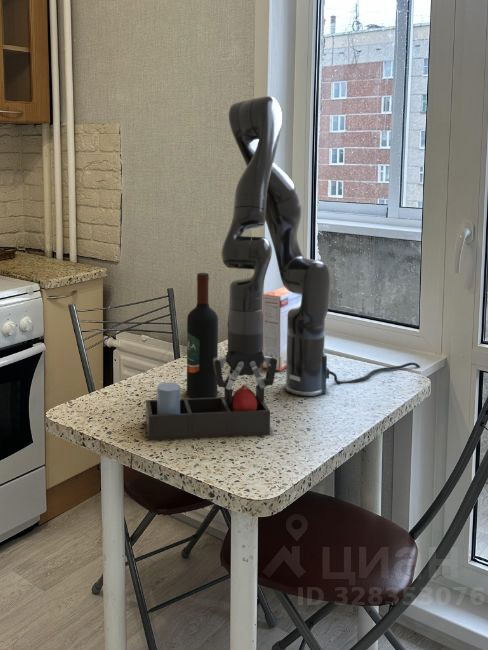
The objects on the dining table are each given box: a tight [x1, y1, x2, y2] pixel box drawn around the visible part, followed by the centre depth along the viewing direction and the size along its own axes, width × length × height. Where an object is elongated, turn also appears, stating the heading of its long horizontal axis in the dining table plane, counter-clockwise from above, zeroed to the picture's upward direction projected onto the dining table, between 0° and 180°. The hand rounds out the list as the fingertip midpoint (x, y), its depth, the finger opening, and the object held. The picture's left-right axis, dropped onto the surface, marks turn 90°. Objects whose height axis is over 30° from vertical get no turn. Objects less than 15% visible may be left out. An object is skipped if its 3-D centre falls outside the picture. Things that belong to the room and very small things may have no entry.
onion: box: [231, 384, 258, 411], centre depth 146 cm, size 6×6×8 cm
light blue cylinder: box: [156, 382, 181, 415], centre depth 144 cm, size 5×5×9 cm
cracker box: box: [262, 285, 302, 372], centre depth 188 cm, size 14×6×21 cm, turn 144°
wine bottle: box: [186, 272, 219, 398], centre depth 164 cm, size 8×8×30 cm
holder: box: [145, 396, 271, 441], centre depth 145 cm, size 26×9×5 cm, turn 97°
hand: (244, 403), depth 146 cm, fingers closed on onion, 6 cm apart
